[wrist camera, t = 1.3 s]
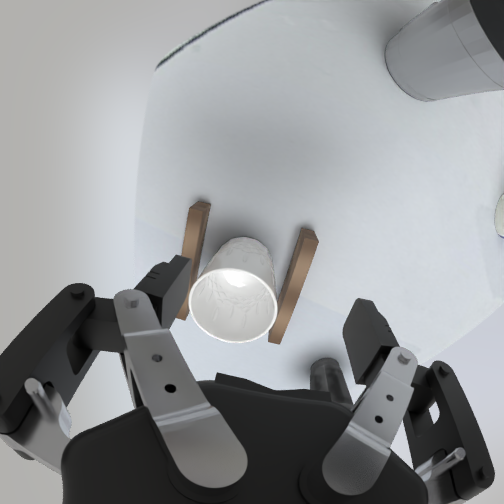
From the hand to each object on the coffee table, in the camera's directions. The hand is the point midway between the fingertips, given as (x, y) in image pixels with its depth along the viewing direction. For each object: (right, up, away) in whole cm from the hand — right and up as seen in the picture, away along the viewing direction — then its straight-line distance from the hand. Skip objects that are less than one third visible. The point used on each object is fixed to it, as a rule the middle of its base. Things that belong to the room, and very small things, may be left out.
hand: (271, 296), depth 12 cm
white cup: (-2, +1, +20) cm, 21 cm away
